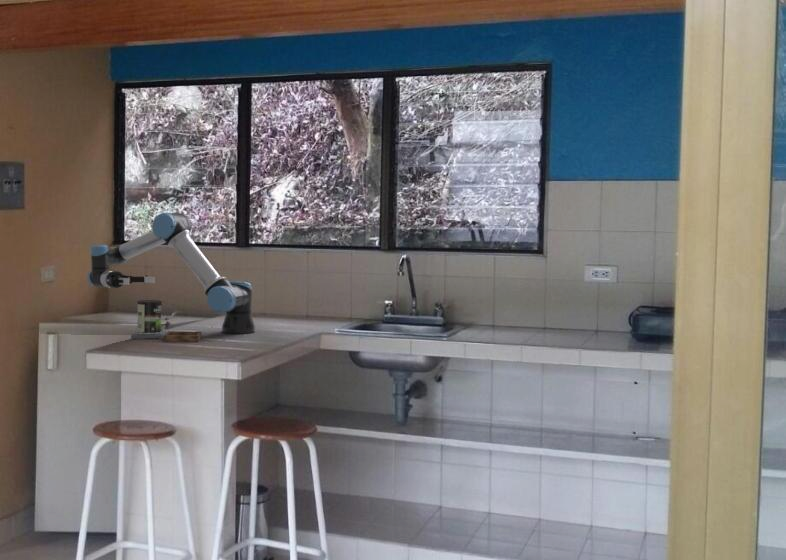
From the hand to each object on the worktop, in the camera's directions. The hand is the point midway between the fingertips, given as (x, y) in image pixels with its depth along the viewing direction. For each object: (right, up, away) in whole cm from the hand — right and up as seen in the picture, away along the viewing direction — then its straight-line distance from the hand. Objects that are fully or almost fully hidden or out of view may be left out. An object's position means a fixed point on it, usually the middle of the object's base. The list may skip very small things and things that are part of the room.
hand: (141, 280), depth 406 cm
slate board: (+5, -24, -8) cm, 26 cm away
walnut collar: (+22, -25, -14) cm, 36 cm away
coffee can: (+5, -23, -8) cm, 25 cm away
